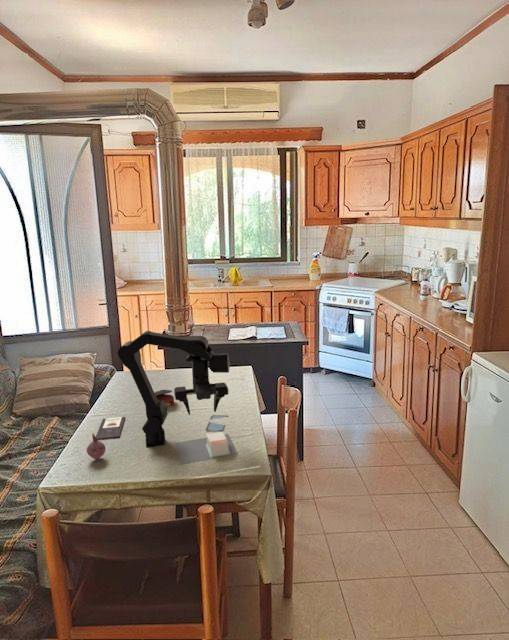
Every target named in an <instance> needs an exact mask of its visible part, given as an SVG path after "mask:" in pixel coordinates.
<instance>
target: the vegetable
mask: <svg viewBox="0 0 509 640" xmlns="http://www.w3.org/2000/svg"><path fill="white" fill-rule="evenodd" d="M91 438H92V441H91V442H90V443H89V444H88V446H87V448H86V453H87V455H88V456H89V457H91V458H93V459H94V460H99V459H101V457H103V456H105V455H104V454H105V453H106V450H107V449H106V446H105V444H104V443H103V442H102V441H100V440H97V439H96V435H95V433H92V437H91Z"/></svg>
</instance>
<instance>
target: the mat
mask: <svg viewBox="0 0 509 640" xmlns="http://www.w3.org/2000/svg"><path fill="white" fill-rule="evenodd" d="M224 435H225V437H226V439H227V441H228V449H229V454H223V455H217V456H211V453H210V451H209V448H208V445H207V437H202V438H201V437H200V438H196V439H190V440H184V441H183V440H182V441H176V442H174V444H175V449H176V452H177V457H178V460H179V461H178V462H179V464H180V465H187V464H191V463H196V462H197V463H198V462H203V461H208V460H214V459H220V458H226V457H230V456H231V457H232V456H237V455H239V452H238V451H237V448H236V446H235V445H234V443H233V441H232V439H231V437H230V435H229V433H228V434H224Z"/></svg>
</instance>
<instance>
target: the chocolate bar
mask: <svg viewBox="0 0 509 640" xmlns="http://www.w3.org/2000/svg"><path fill="white" fill-rule="evenodd" d="M124 420H126V416H119V417H111V418H110V417H108V418H102V420H101V422H100V424H99V428H98V430H97V433H96V435H95V437H96V439H102V440H109V439H108V438H113V439H119V438H121V434H122V431H123V428H122V427H124V425H125V421H124Z"/></svg>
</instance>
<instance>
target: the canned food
mask: <svg viewBox="0 0 509 640" xmlns="http://www.w3.org/2000/svg"><path fill="white" fill-rule="evenodd" d="M172 392H173V390H170V389H161V390H158V391H157V390H156V391H154V393H155V395H156V398H157V399H158V400H159V401H160V402H161V401H163V400H164V401H165V405H166V407H167V408H168V407H169V408H171V407H173V406H174V405H175V396H174V395H172V394H170V393H172ZM172 405H173V406H172ZM170 406H171V407H170ZM169 408H168V409H169Z"/></svg>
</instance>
